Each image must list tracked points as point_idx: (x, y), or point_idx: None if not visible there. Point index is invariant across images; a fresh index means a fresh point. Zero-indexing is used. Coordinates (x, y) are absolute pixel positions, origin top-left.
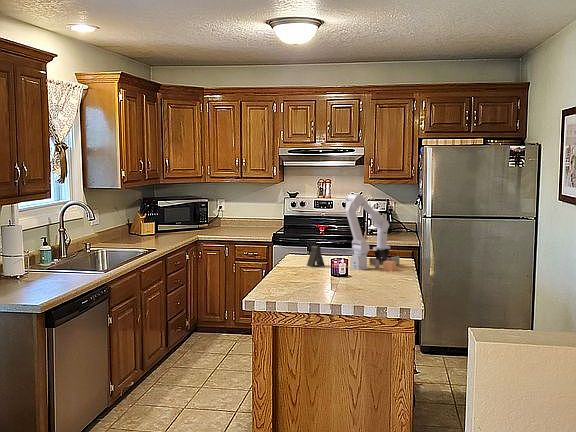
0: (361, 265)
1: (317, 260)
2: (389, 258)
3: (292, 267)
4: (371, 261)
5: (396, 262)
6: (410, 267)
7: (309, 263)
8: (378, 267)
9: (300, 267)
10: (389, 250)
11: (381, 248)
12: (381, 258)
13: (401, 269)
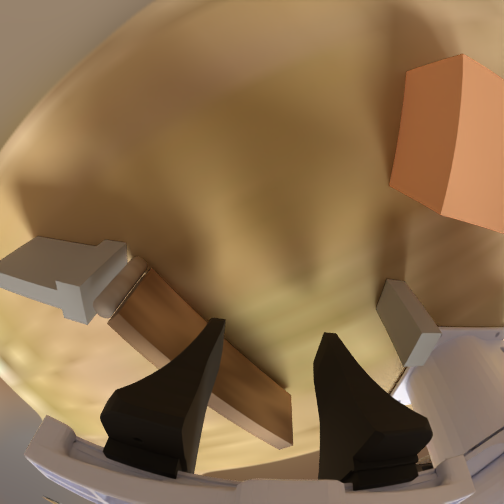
0: (498, 356)
1: None
2: (129, 319)
3: None
4: (281, 412)
5: (58, 251)
6: (112, 38)
7: None
8: (397, 284)
9: None
10: (125, 408)
11: (393, 495)
12: None
13: (316, 33)
